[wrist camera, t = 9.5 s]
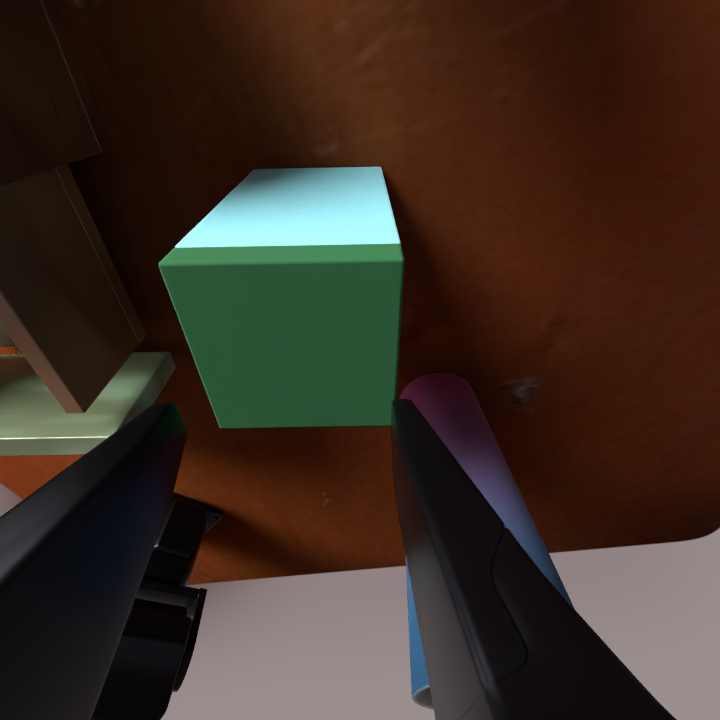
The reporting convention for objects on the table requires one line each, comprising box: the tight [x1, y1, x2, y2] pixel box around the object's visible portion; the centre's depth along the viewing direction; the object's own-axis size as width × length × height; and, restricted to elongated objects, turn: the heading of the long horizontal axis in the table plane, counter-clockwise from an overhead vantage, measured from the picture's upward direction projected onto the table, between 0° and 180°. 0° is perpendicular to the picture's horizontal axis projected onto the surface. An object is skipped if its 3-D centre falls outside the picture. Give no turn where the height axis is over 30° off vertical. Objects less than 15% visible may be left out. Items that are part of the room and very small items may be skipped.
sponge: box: [159, 167, 405, 429], centre depth 14 cm, size 6×6×10 cm
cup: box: [400, 372, 575, 709], centre depth 19 cm, size 7×7×15 cm
